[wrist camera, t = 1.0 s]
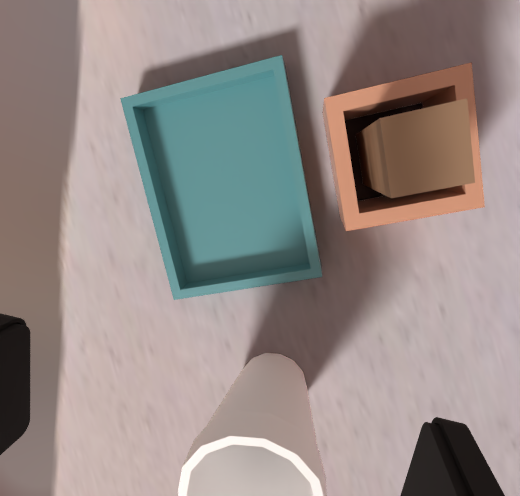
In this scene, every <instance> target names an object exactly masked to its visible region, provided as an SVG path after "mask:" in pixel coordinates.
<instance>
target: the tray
mask: <svg viewBox="0 0 520 496" xmlns="http://www.w3.org/2000/svg"><path fill="white" fill-rule="evenodd" d="M120 99H121V103H122V106H123V110H124V114H125V118H126V121H127V125H128V129H129V133H130V136H131V140H132V144H133V148H134V152H135V155H136V159H137V163H138V167H139V170H140V174H141V178H142V182H143V185H144V189H145V193H146V197H147V200H148V204H149V208H150V212H151V216H152V219H153V223H154V227H155V231H156V234H157V238H158V242H159V246H160V249H161V253H162V257H163V261H164V264H165V268H166V272H167V276H168V280H169V283H170V287H171V291H172V295H173V298H174V300H176V299H183V298H189V297H195V296H202V295H208V294H215V293H221V292H228V291H234V290H241V289H247V288H254V287H260V286H267V285H273V284H280V283H286V282H293V281H299V280H305V279H312V278H318V277H322V267H321V261H320V256H319V250H318V245H317V239H316V234H315V228H314V223H313V217H312V212H311V206H310V201H309V195H308V189H307V184H306V178H305V173H304V167H303V162H302V156H301V151H300V145H299V140H298V134H297V129H296V123H295V118H294V112H293V107H292V101H291V96H290V90H289V85H288V79H287V74H286V68H285V63H284V60H283V57H282V55H280V56H276V57H273V58H269V59H265V60H261V61H258V62H254V63H250V64H247V65H243V66H239V67H235V68H232V69H228V70H224V71H221V72H217V73H213V74H210V75H206V76H202V77H198V78H195V79H191V80H187V81H184V82H180V83H176V84H172V85H169V86H165V87H161V88H158V89H154V90H150V91H146V92H143V93H139V94H135V95H132V96H128V97H124V98H120Z"/></svg>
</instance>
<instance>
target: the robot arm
mask: <svg viewBox="0 0 520 496" xmlns="http://www.w3.org/2000/svg"><path fill="white" fill-rule="evenodd" d="M29 422H30V330H29V328H28V327H27V326H26V323H25V321H24V320H23V319H21V318H17V317H13V316H9V315H4V314H0V455H1V454H2V453H3V452H4V451H5V450H6V449H7V448H9V447H10V446H11V445H12V444H13V443H14V442H15V441H16V440H17V439H19V438H20V437H21V436H22V435H23V434H24V432H25V431H26V429H27V427H28V425H29ZM401 496H505V495H504V493H503V492H502V490H501V488H500V486H499V484H498V482H497V480H496V479H495V477H494V475H493V473H492V471H491V469H490V467H489V466H488V464H487V462H486V460H485V458H484V456H483V454H482V453H481V451H480V449H479V447H478V445H477V443H476V441H475V440H474V438H473V436H472V434H471V432H470V430H469V428H468V427H467V426H466V425H465V424H463V423H459V422H455V421H450V420H446V419H442V418H438V417H436V418H434V419H433V421H432V423H428V422H425V423H424V424H423V426H422V428H421V432H420V435H419V438H418V441H417V444H416V448H415V451H414V454H413V457H412V461H411V464H410V467H409V470H408V473H407V477H406V480H405V483H404V486H403V490H402V493H401Z"/></svg>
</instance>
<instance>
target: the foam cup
mask: <svg viewBox="0 0 520 496" xmlns="http://www.w3.org/2000/svg"><path fill="white" fill-rule="evenodd" d="M178 496H327V495H326V476H325V472H324V468H323V464H322V460H321V456H320V453H319V450H318V446H317V441H316V435H315V430H314V424H313V418H312V413H311V407H310V401H309V396H308V390H307V386H306V381H305V377H304V374H303V371H302V370H301V368H300V367H299V366H298V365H297V364H296V363H295V361H294V360H292V359H290V358H288V357H286V356H284V355H282V354H276V353H264V354H261V355H259V356H256V357H254V358H252V359H251V360H250V361H249V362H248V363H247V365H246V366H245V367H244V368H243V370H242V371H241V372H240V374H239V376H238V377H237V379H236V380H235V382H234V383H233V385H232V387H231V388H230V390H229V391H228V393H227V394H226V396H225V398H224V399H223V401H222V402H221V404H220V405H219V407H218V409H217V410H216V412H215V413H214V415H213V416H212V418H211V420H210V421H209V423H208V424H207V426H206V427H205V428H204V429H203V431H202V432H201V433H200V434H199V435H198V436H197V437H196V439H195V440H194V441H193V444H192V446H191V448H190V451H189V453H188V455H187V457H186V460H185V462H184V464H183V466H182V471H181V477H180V483H179V489H178Z"/></svg>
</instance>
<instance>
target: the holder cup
mask: <svg viewBox="0 0 520 496" xmlns="http://www.w3.org/2000/svg"><path fill="white" fill-rule="evenodd" d="M462 99H467V102H468V112H469V123H470V134H471V144H472V155H473V165H474V176H475V183H471V184H465V185H460V186H455V187H449V188H444V189H439V190H433V191H428V192H423V193H417V194H412V195H406V196H401V197H396V198H389V197H387V196H381V197H376V198H370V199H365V200H360V201H357V196H356V190H355V183H354V177H353V171H352V164H351V158H350V152H349V145H348V139H347V132H346V126H345V120H350V119H354V118H358V117H363V116H367V115H371V114H376V113H380V112H385V111H389V110H393V109H398V108H402V107H406V106H411V105H415V104H419V103H422V104H423V108H427V107H431V106H436V105H440V104H445V103H449V102H453V101H458V100H462ZM322 113H323V119H324V125H325V131H326V137H327V143H328V149H329V155H330V161H331V167H332V173H333V179H334V185H335V191H336V197H337V203H338V209H339V215H340V218H341V220H342V223H343V225H344V227H345V230H346V231H350V230H356V229H362V228H368V227H373V226H379V225H385V224H390V223H396V222H402V221H408V220H413V219H419V218H425V217H430V216H436V215H442V214H448V213H453V212H459V211H465V210H470V209H476V208H482V207H485V206H484V195H483V183H482V172H481V161H480V150H479V139H478V128H477V117H476V106H475V95H474V84H473V73H472V63H467V64H463V65H459V66H455V67H451V68H447V69H443V70H439V71H434V72H430V73H426V74H422V75H418V76H414V77H410V78H406V79H401V80H397V81H393V82H389V83H385V84H381V85H377V86H373V87H368V88H364V89H360V90H356V91H352V92H348V93H344V94H340V95H335V96H331V97H327V98H324V104H323V112H322Z"/></svg>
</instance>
